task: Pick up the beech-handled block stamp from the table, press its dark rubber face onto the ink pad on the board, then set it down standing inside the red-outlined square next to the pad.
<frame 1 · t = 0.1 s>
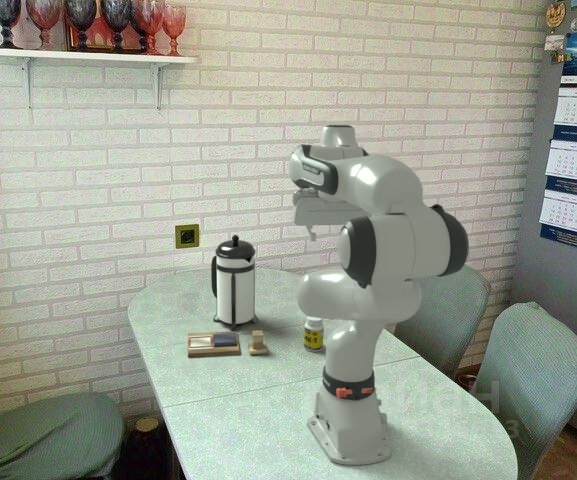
hand: (330, 239, 146), 39 cm above the table, tool pointing down, fingers open, 8 cm apart
coffee press: (232, 321, 189), on the table
supplement bottle: (313, 348, 172), on the table
station board: (213, 345, 172), on the table
stamp: (257, 351, 169), on the table
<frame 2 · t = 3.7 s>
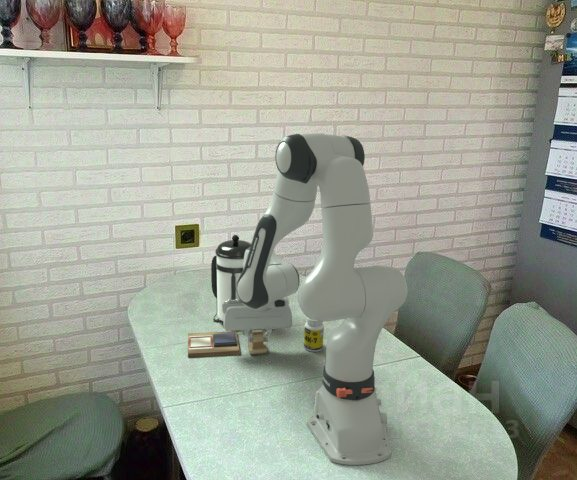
hand: (257, 341, 168), 3 cm above the table, tool pointing down, fingers closed on stamp, 3 cm apart
stamp: (257, 350, 169), on the table, touching gripper
everything else where it was.
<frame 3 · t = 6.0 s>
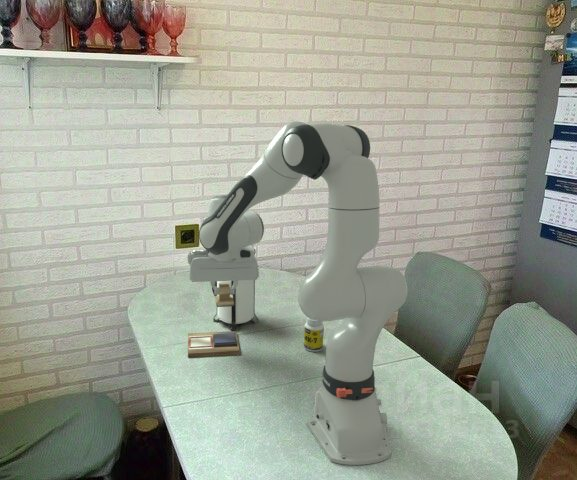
hand: (224, 293, 167), 17 cm above the table, tool pointing down, fingers closed on stamp, 3 cm apart
stamp: (224, 303, 168), point 14 cm above the table, touching gripper
everything else where it was.
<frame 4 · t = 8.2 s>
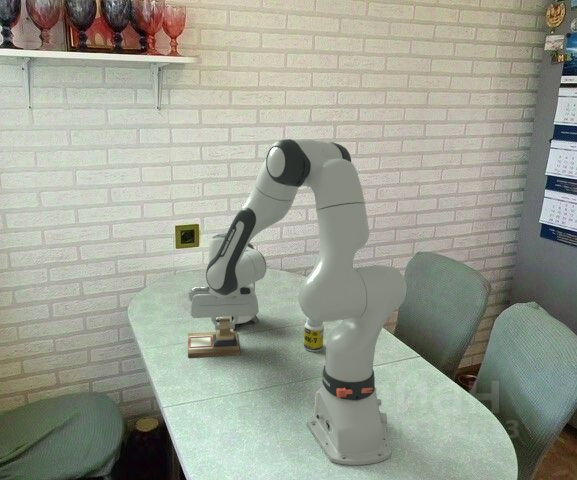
hand: (224, 328, 171), 5 cm above the table, tool pointing down, fingers closed on stamp, 3 cm apart
stamp: (224, 337, 172), point 2 cm above the table, touching gripper, station board
everything else where it was.
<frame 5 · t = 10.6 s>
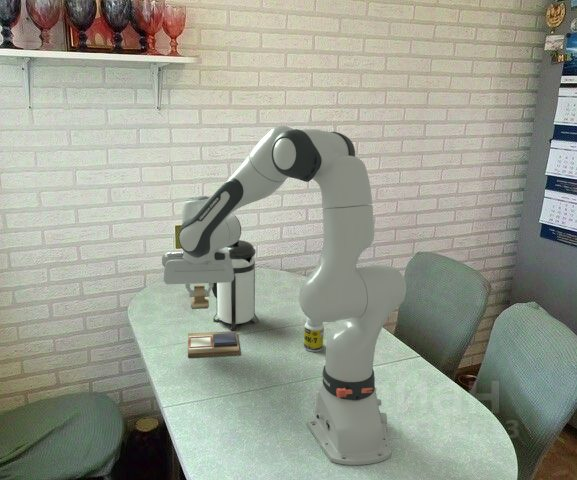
hand: (199, 296, 166), 16 cm above the table, tool pointing down, fingers closed on stamp, 3 cm apart
stamp: (199, 305, 167), point 13 cm above the table, touching gripper
everything else where it was.
when the fingers open (5 cm above the table, at t = 12.8 s): stamp stays where it is, resting on station board.
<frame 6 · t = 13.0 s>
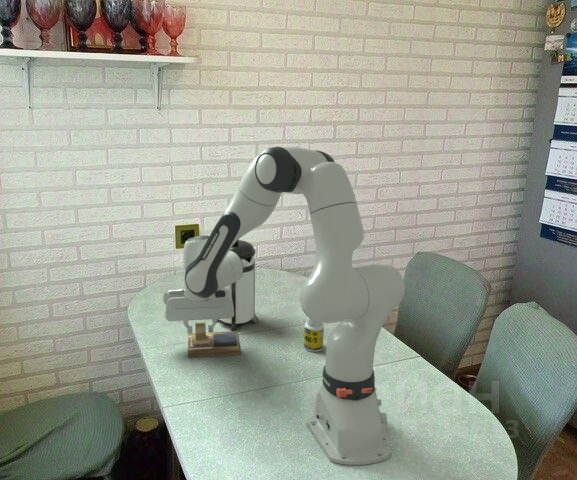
hand: (200, 332, 170), 5 cm above the table, tool pointing down, fingers open, 5 cm apart
stamp: (200, 342, 171), point 1 cm above the table, touching station board
everything else where it was.
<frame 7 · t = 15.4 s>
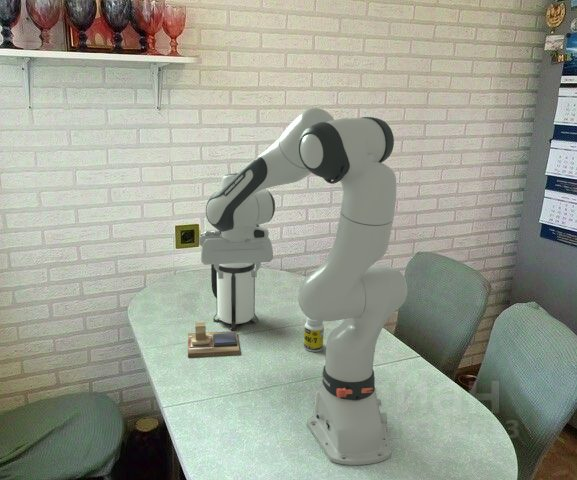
hand: (237, 277, 161), 24 cm above the table, tool pointing down, fingers open, 8 cm apart
nothing on the table moved.
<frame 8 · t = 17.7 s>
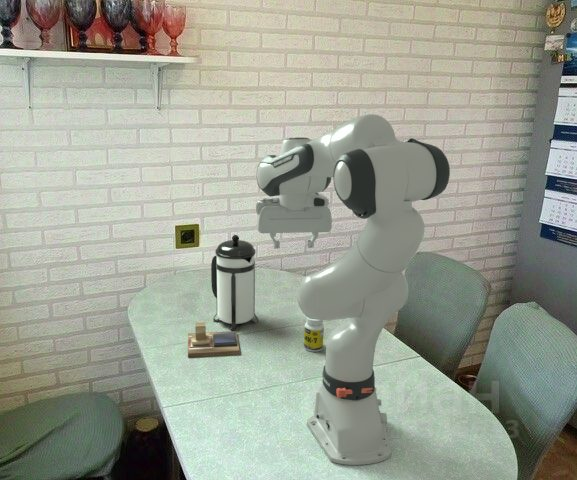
hand: (293, 247, 155), 34 cm above the table, tool pointing down, fingers open, 8 cm apart
nothing on the table moved.
at the end: stamp 0.0 cm from the target spot on the station board, point 1.3 cm above the station board's base; stamp tilted 0°; the gripper is holding nothing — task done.
